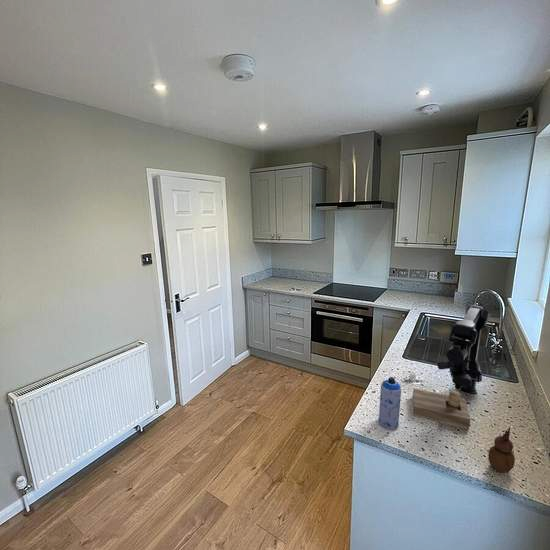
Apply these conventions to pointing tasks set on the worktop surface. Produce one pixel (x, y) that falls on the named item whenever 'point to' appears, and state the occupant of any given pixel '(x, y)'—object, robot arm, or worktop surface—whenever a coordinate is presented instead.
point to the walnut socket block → (439, 409)
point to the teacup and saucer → (415, 378)
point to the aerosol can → (389, 404)
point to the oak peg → (454, 400)
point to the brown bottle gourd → (502, 453)
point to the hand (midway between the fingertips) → (456, 389)
